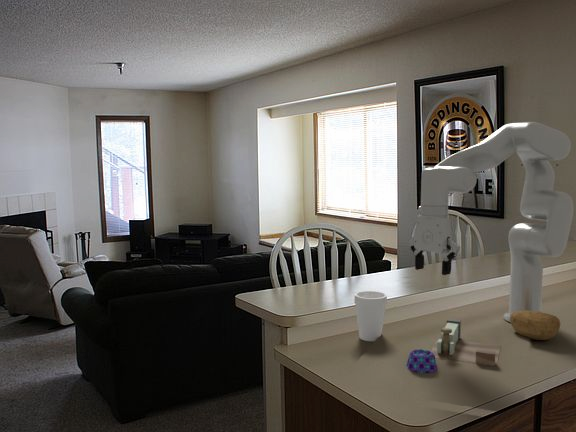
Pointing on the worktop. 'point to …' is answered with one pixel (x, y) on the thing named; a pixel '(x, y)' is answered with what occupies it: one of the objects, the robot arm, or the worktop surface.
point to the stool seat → (467, 351)
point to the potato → (535, 324)
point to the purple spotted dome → (421, 361)
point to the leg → (450, 335)
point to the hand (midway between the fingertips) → (432, 271)
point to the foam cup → (370, 313)
